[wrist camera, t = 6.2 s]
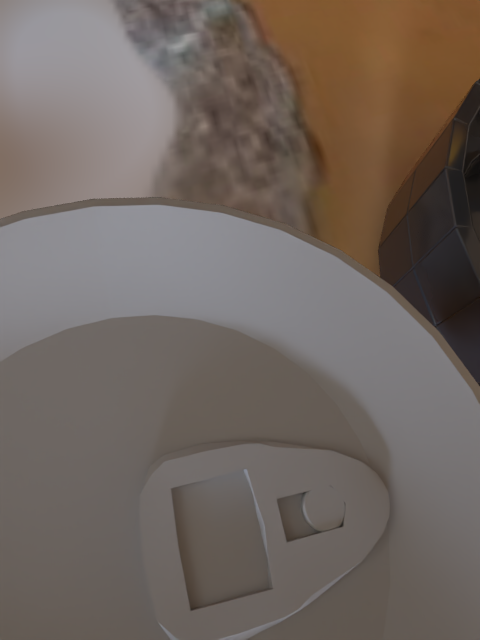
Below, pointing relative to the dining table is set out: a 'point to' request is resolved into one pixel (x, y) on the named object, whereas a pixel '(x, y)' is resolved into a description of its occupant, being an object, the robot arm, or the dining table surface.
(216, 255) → the canned food
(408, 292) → the bowl
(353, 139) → the dining table surface
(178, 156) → the dining table surface
